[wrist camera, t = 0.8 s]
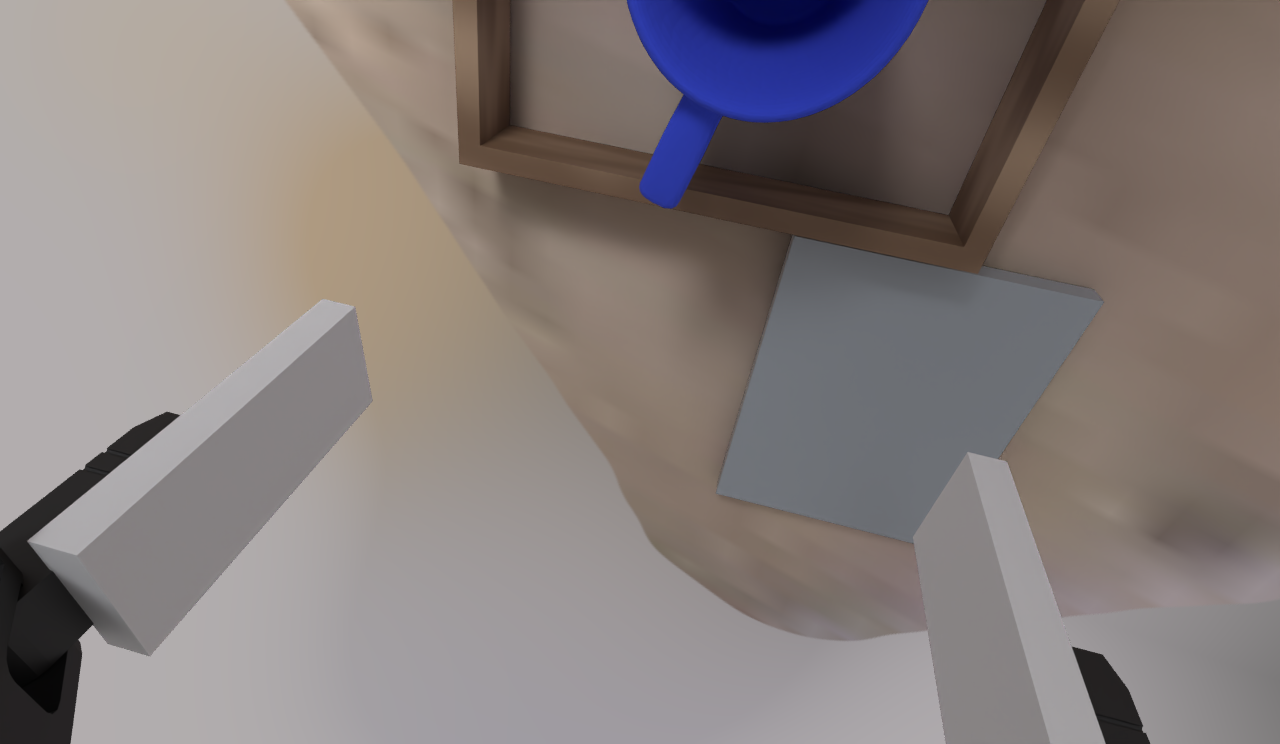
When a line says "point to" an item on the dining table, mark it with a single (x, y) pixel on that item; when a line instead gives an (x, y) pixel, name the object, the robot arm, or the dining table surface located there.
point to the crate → (905, 232)
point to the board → (890, 381)
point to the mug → (758, 66)
